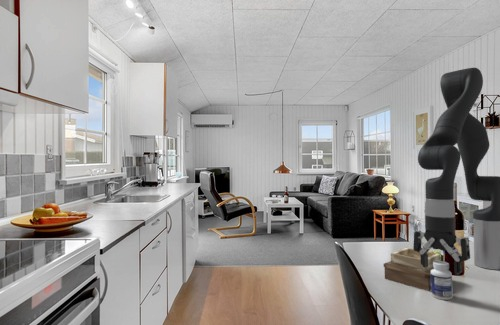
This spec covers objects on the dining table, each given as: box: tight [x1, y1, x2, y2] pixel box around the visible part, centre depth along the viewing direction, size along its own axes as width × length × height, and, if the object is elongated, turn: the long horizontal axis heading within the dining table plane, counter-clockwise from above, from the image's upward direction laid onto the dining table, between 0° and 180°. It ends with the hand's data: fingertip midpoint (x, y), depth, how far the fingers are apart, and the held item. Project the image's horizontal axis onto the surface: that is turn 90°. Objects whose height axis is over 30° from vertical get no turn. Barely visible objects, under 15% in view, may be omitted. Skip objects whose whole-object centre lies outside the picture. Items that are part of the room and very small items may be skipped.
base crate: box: [383, 260, 431, 292], centre depth 106 cm, size 14×14×5 cm
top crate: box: [390, 247, 441, 272], centre depth 106 cm, size 11×11×4 cm
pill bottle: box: [430, 260, 454, 301], centre depth 93 cm, size 5×5×10 cm
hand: (440, 270), depth 93 cm, fingers open, 8 cm apart
